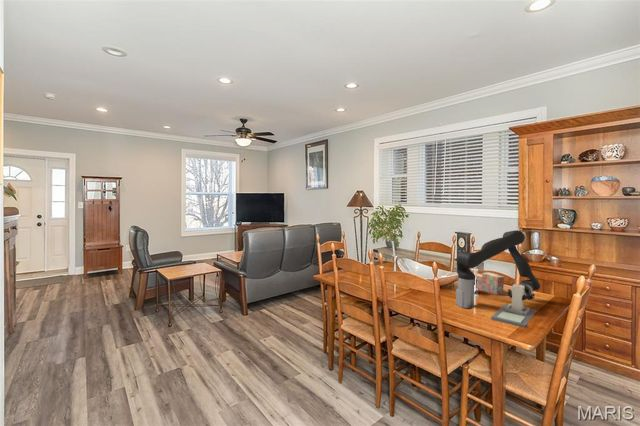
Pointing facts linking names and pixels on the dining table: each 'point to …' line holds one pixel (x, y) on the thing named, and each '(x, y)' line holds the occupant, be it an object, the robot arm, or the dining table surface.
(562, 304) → the dining table surface
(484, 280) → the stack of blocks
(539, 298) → the dining table surface
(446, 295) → the dining table surface
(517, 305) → the cream block
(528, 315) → the grey tray
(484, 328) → the dining table surface
